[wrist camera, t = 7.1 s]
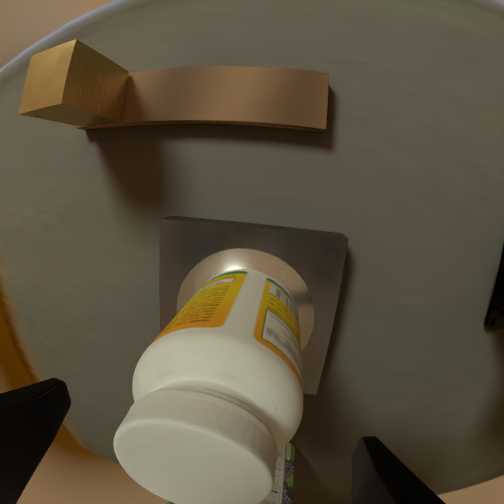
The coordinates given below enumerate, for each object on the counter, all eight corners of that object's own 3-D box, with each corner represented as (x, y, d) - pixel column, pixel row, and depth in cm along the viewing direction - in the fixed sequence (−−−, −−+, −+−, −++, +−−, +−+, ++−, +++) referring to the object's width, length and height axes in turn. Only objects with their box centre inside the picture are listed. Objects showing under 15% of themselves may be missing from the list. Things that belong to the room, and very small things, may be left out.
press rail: (326, 80, 13) (328, 73, 12) (323, 132, 14) (325, 129, 13) (91, 85, 14) (83, 81, 13) (84, 129, 15) (75, 127, 14)
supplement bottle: (314, 285, 14) (351, 440, 5) (277, 374, 15) (264, 534, 6) (205, 251, 14) (83, 355, 5) (182, 343, 15) (96, 479, 6)
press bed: (342, 233, 15) (348, 238, 13) (314, 379, 17) (316, 395, 15) (171, 215, 16) (159, 219, 14) (171, 359, 18) (162, 373, 16)
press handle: (128, 71, 13) (76, 39, 8) (120, 122, 14) (60, 103, 9) (87, 79, 13) (31, 56, 8) (79, 126, 14) (18, 114, 9)
